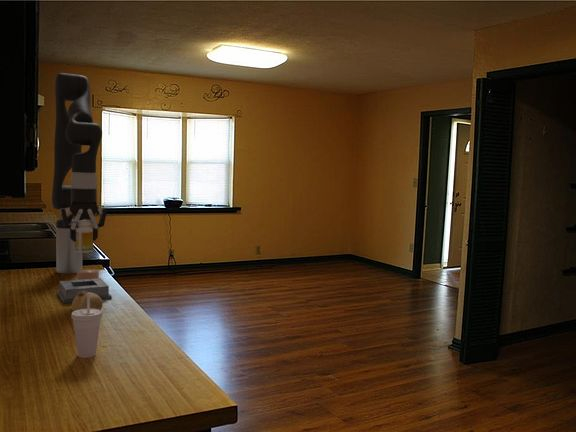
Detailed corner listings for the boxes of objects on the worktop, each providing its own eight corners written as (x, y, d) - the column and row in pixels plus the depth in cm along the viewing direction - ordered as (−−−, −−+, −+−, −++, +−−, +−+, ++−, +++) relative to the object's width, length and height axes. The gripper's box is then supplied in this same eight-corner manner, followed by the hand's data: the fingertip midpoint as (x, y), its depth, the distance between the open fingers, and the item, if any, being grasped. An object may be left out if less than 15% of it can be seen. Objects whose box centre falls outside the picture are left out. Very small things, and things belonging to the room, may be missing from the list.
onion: (85, 310, 152) (85, 285, 151) (108, 313, 149) (108, 288, 149) (65, 317, 144) (65, 291, 144) (89, 320, 142) (89, 295, 141)
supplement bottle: (96, 250, 168) (96, 220, 167) (88, 253, 163) (88, 222, 162) (80, 249, 169) (80, 219, 168) (71, 252, 163) (71, 221, 162)
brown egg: (75, 284, 183) (75, 270, 183) (96, 282, 187) (96, 268, 186) (79, 288, 177) (79, 273, 177) (100, 286, 181) (100, 272, 180)
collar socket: (56, 293, 169) (56, 281, 169) (102, 289, 177) (102, 277, 176) (63, 303, 157) (63, 290, 157) (111, 298, 165) (111, 286, 164)
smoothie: (83, 362, 112) (83, 298, 111) (64, 355, 115) (64, 293, 114) (108, 354, 117) (108, 292, 116) (89, 347, 121) (89, 288, 120)
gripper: (105, 186, 171) (104, 238, 172) (57, 186, 163) (57, 240, 165) (110, 188, 164) (110, 241, 166) (60, 187, 157) (61, 243, 159)
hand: (83, 240), depth 165 cm, fingers closed on supplement bottle, 5 cm apart
